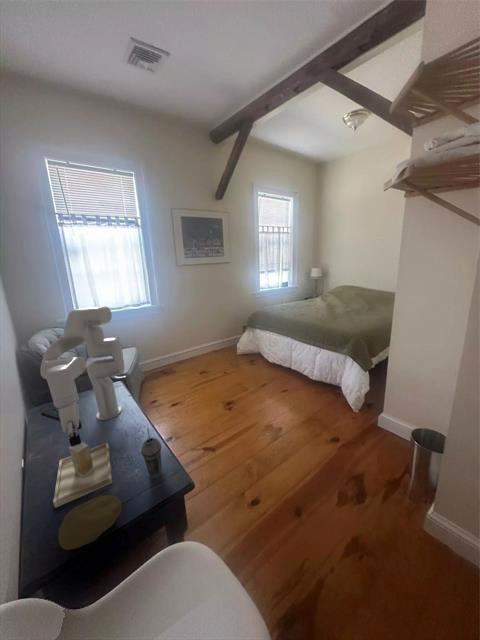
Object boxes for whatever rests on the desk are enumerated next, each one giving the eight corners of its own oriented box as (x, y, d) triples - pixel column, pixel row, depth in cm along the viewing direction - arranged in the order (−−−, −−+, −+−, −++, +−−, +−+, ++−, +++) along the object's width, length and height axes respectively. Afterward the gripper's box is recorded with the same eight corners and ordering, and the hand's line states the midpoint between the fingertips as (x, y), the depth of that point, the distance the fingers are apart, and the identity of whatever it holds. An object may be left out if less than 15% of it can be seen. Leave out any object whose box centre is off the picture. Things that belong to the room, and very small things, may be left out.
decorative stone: (118, 501, 88) (113, 478, 85) (129, 526, 80) (123, 501, 77) (60, 538, 77) (52, 513, 75) (65, 570, 69) (56, 543, 66)
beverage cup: (147, 484, 94) (138, 439, 89) (144, 470, 100) (136, 427, 95) (167, 476, 97) (159, 432, 92) (163, 463, 103) (156, 421, 98)
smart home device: (55, 404, 150) (77, 410, 142) (56, 406, 150) (78, 413, 142) (40, 412, 143) (62, 419, 135) (41, 414, 143) (63, 422, 135)
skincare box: (74, 473, 100) (67, 447, 97) (85, 464, 103) (79, 439, 100) (84, 478, 97) (77, 452, 94) (95, 470, 100) (88, 444, 97)
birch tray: (61, 464, 106) (59, 460, 105) (108, 447, 114) (107, 442, 113) (55, 507, 87) (53, 502, 86) (112, 482, 96) (111, 477, 95)
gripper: (56, 390, 98) (66, 427, 102) (50, 414, 83) (63, 456, 88) (78, 384, 101) (88, 420, 106) (77, 406, 87) (88, 447, 92)
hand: (76, 436), depth 97 cm, fingers open, 9 cm apart
